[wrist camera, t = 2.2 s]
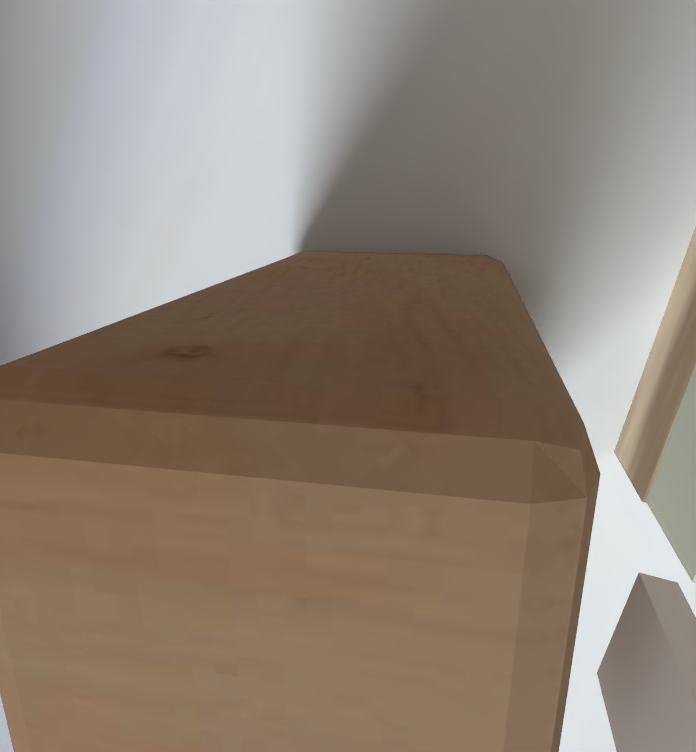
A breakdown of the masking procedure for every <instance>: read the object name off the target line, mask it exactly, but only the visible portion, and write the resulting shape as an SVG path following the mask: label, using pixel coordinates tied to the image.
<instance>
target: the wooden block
mask: <svg viewBox="0 0 696 752" xmlns="http://www.w3.org/2000/svg"><path fill="white" fill-rule="evenodd" d="M599 479H600V472H599V468H598V465H597V462H596V459H595V456H594V453H593V450H592V447H591V444H590V441H589V438H588V435H587V431H586V428H585V425H584V423H583V421H582V419H581V417H580V415H579V413H578V411H577V409H576V407H575V405H574V403H573V401H572V399H571V397H570V395H569V393H568V391H567V389H566V387H565V385H564V383H563V381H562V379H561V377H560V375H559V373H558V371H557V369H556V367H555V365H554V363H553V361H552V359H551V357H550V355H549V353H548V351H547V349H546V347H545V345H544V343H543V341H542V339H541V337H540V335H539V333H538V331H537V329H536V327H535V326H534V324H533V322H532V320H531V318H530V316H529V314H528V312H527V310H526V308H525V306H524V304H523V302H522V300H521V298H520V296H519V294H518V292H517V290H516V288H515V286H514V284H513V282H512V280H511V278H510V276H509V274H508V272H507V270H506V268H505V266H504V264H503V263H502V262H500V261H498V260H496V259H493V258H491V257H489V256H487V255H448V254H400V253H353V252H305V251H303V252H301V253H298V254H296V255H293V256H290V257H288V258H285V259H282V260H280V261H277V262H274V263H272V264H269V265H266V266H264V267H261V268H259V269H256V270H253V271H251V272H248V273H245V274H243V275H240V276H237V277H235V278H232V279H229V280H227V281H224V282H221V283H219V284H216V285H214V286H211V287H208V288H206V289H203V290H200V291H198V292H195V293H192V294H190V295H187V296H184V297H182V298H179V299H177V300H174V301H171V302H169V303H166V304H163V305H161V306H158V307H155V308H153V309H150V310H147V311H145V312H142V313H139V314H137V315H134V316H132V317H129V318H126V319H124V320H121V321H118V322H116V323H113V324H110V325H108V326H105V327H102V328H100V329H97V330H94V331H92V332H89V333H87V334H84V335H81V336H79V337H76V338H73V339H71V340H68V341H65V342H63V343H60V344H57V345H55V346H52V347H50V348H47V349H44V350H42V351H39V352H36V353H34V354H31V355H28V356H26V357H23V358H20V359H18V360H15V361H12V362H10V363H7V364H5V365H2V366H0V694H1V698H2V703H3V707H4V711H5V715H6V720H7V724H8V728H9V732H10V737H11V741H12V745H13V749H14V752H559V745H560V738H561V732H562V725H563V718H564V712H565V705H566V698H567V692H568V685H569V678H570V672H571V665H572V658H573V652H574V645H575V638H576V632H577V625H578V618H579V612H580V605H581V598H582V592H583V585H584V579H585V572H586V565H587V559H588V552H589V545H590V539H591V532H592V525H593V519H594V512H595V505H596V499H597V492H598V485H599Z"/></svg>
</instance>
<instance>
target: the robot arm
mask: <svg viewBox="0 0 696 752" xmlns="http://www.w3.org/2000/svg"><path fill="white" fill-rule="evenodd" d="M597 675H598V679H599V683H600V687H601V691H602V695H603V699H604V703H605V707H606V710H607V714H608V718H609V722H610V726H611V730H612V734H613V738H614V742H615V746H616V750H617V752H696V617H695V616H694V614H693V612H692V610H691V608H690V606H689V604H688V602H687V600H686V598H685V596H684V594H683V592H682V590H681V588H680V586H679V584H678V583H677V582H673V581H669V580H665V579H662V578H658V577H654V576H650V575H646V574H643V573H639V574H638V576H637V578H636V581H635V583H634V586H633V588H632V590H631V593H630V595H629V598H628V600H627V602H626V605H625V607H624V610H623V612H622V614H621V617H620V619H619V621H618V624H617V626H616V629H615V631H614V633H613V636H612V638H611V641H610V643H609V645H608V648H607V650H606V653H605V655H604V657H603V660H602V662H601V665H600V667H599V669H598V672H597Z"/></svg>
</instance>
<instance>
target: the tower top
mask: <svg viewBox="0 0 696 752" xmlns="http://www.w3.org/2000/svg"><path fill="white" fill-rule="evenodd" d="M646 502H647V504H648V506H649V507H650V509H651V511H652V513H653V514H654V516H655V518H656V520H657V521H658V523H659V525H660V527H661V528H662V530H663V532H664V533H665V535H666V537H667V539H668V540H669V542H670V544H671V546H672V547H673V549H674V551H675V553H676V554H677V556H678V558H679V559H680V561H681V563H682V565H683V566H684V568H685V570H686V572H687V573H688V575H689V577H690V579H691V580H692V582H696V364H695V367H694V369H693V372H692V375H691V378H690V380H689V383H688V386H687V389H686V391H685V394H684V397H683V400H682V402H681V405H680V408H679V411H678V413H677V416H676V419H675V422H674V424H673V427H672V430H671V433H670V435H669V438H668V441H667V444H666V446H665V449H664V452H663V455H662V457H661V460H660V463H659V466H658V469H657V471H656V474H655V477H654V480H653V482H652V485H651V488H650V491H649V493H648V496H647V499H646Z"/></svg>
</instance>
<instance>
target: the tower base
mask: <svg viewBox="0 0 696 752" xmlns="http://www.w3.org/2000/svg"><path fill="white" fill-rule="evenodd" d="M695 364H696V227H695V230H694V233H693V236H692V239H691V241H690V244H689V247H688V250H687V252H686V255H685V258H684V261H683V263H682V266H681V269H680V272H679V274H678V277H677V280H676V283H675V285H674V288H673V291H672V294H671V296H670V299H669V302H668V305H667V307H666V310H665V313H664V316H663V319H662V321H661V324H660V327H659V330H658V332H657V335H656V338H655V341H654V343H653V346H652V349H651V352H650V354H649V357H648V360H647V363H646V365H645V368H644V371H643V374H642V376H641V379H640V382H639V385H638V387H637V390H636V393H635V396H634V398H633V401H632V404H631V407H630V410H629V412H628V415H627V418H626V421H625V423H624V426H623V429H622V432H621V434H620V437H619V440H618V443H617V445H616V448H615V451H614V453H615V454H616V456H617V458H618V460H619V461H620V463H621V465H622V467H623V469H624V470H625V472H626V474H627V476H628V477H629V479H630V481H631V483H632V484H633V486H634V488H635V490H636V492H637V493H638V495H639V497H640V499H641V500H642V502H646V499H647V496H648V493H649V491H650V488H651V485H652V482H653V480H654V477H655V474H656V471H657V469H658V466H659V463H660V460H661V457H662V455H663V452H664V449H665V446H666V444H667V441H668V438H669V435H670V433H671V430H672V427H673V424H674V422H675V419H676V416H677V413H678V411H679V408H680V405H681V402H682V400H683V397H684V394H685V391H686V389H687V386H688V383H689V380H690V378H691V375H692V372H693V369H694V367H695ZM646 503H647V502H646Z"/></svg>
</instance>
